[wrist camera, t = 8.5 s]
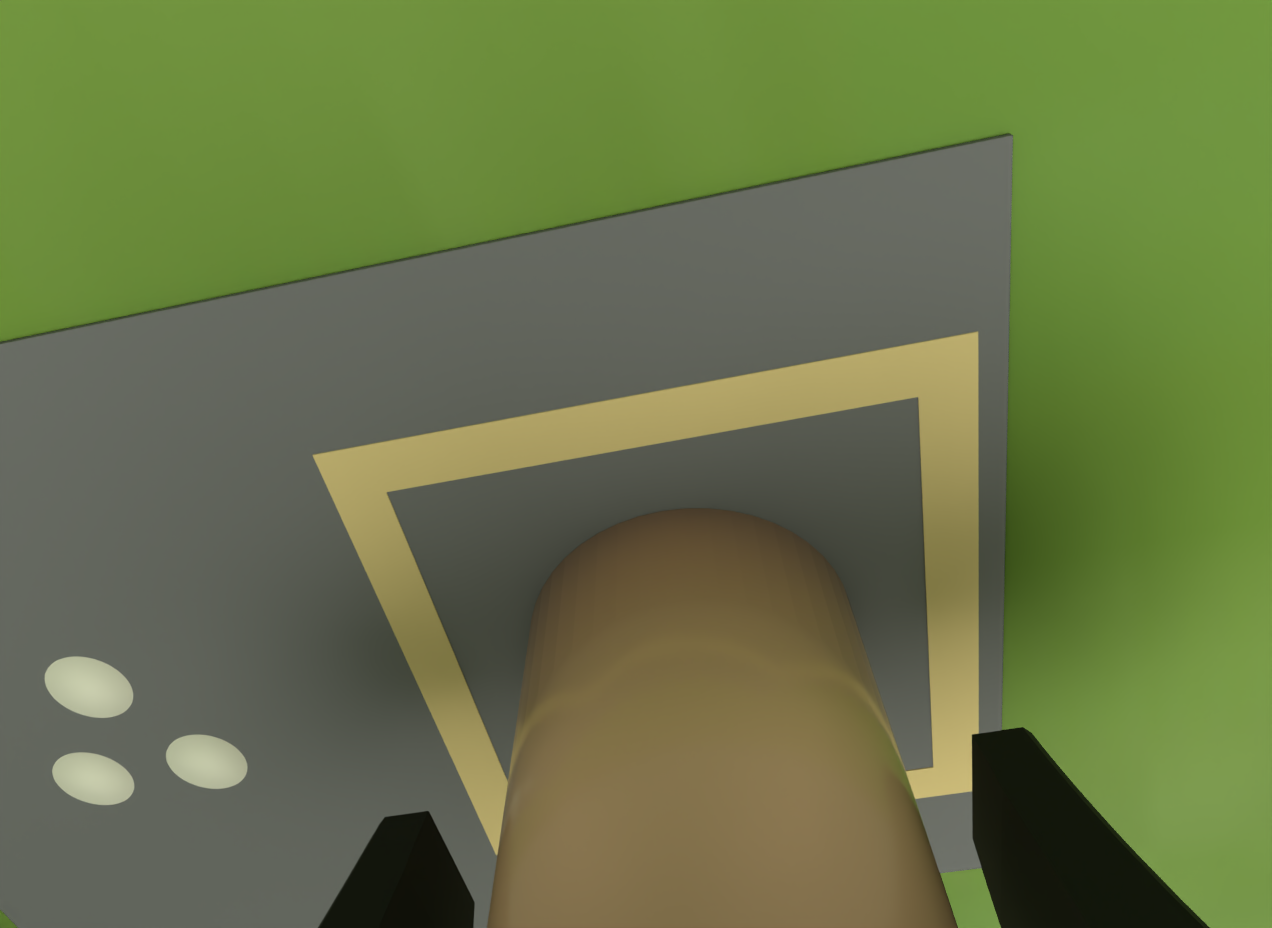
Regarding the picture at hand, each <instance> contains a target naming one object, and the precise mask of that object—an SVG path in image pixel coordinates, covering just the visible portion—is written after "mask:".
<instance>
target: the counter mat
mask: <svg viewBox="0 0 1272 928" xmlns="http://www.w3.org/2000/svg"><path fill="white" fill-rule="evenodd" d="M1012 148H1013V135H1011V134H1005V135H1001V136H996V137H991V138H986V139H981V140H976V141H971V142H967V143H962V144H957V145H952V146H947V147H942V148H938V149H933V150H928V151H923V152H918V153H913V154H909V155H904V156H899V157H894V158H889V159H884V160H880V161H875V162H870V163H865V164H860V165H855V166H850V167H846V168H841V169H836V170H831V171H826V172H821V173H817V174H812V175H807V176H802V177H797V178H792V179H788V180H783V181H778V182H773V183H768V184H763V185H759V186H754V187H749V188H744V189H739V190H734V191H729V192H725V193H720V194H715V195H710V196H705V197H700V198H696V199H691V200H686V201H681V202H676V203H671V204H667V205H662V206H657V207H652V208H647V209H642V210H638V211H633V212H628V213H623V214H618V215H613V216H608V217H604V218H599V219H594V220H589V221H584V222H579V223H575V224H570V225H565V226H560V227H555V228H550V229H546V230H541V231H536V232H531V233H526V234H521V235H517V236H512V237H507V238H502V239H497V240H492V241H488V242H483V243H478V244H473V245H468V246H463V247H458V248H454V249H449V250H444V251H439V252H434V253H429V254H425V255H420V256H415V257H410V258H405V259H400V260H396V261H391V262H386V263H381V264H376V265H371V266H367V267H362V268H357V269H352V270H347V271H342V272H337V273H333V274H328V275H323V276H318V277H313V278H308V279H304V280H299V281H294V282H289V283H284V284H279V285H275V286H270V287H265V288H260V289H255V290H250V291H246V292H241V293H236V294H231V295H226V296H221V297H216V298H212V299H207V300H202V301H197V302H192V303H187V304H183V305H178V306H173V307H168V308H163V309H158V310H154V311H149V312H144V313H139V314H134V315H129V316H125V317H120V318H115V319H110V320H105V321H100V322H95V323H91V324H86V325H81V326H76V327H71V328H66V329H62V330H57V331H52V332H47V333H42V334H37V335H33V336H28V337H23V338H18V339H13V340H8V341H4V342H0V910H1V911H2V912H3V913H4V914H5V915H6V916H7V917H8V918H9V919H10V920H11V921H12V922H13V923H14V924H15V925H16V926H17V927H18V928H318V927H319V925H320V923H321V922H322V920H323V918H324V917H325V915H326V913H327V912H328V910H329V908H330V907H331V905H332V903H333V902H334V900H335V898H336V897H337V895H338V893H339V892H340V890H341V888H342V887H343V885H344V883H345V881H346V880H347V878H348V876H349V875H350V873H351V871H352V870H353V868H354V866H355V864H356V863H357V861H358V859H359V858H360V856H361V854H362V853H363V851H364V849H365V847H366V846H367V844H368V842H369V841H370V839H371V837H372V836H373V834H374V832H375V831H376V829H377V827H378V825H379V824H380V822H381V821H382V820H383V819H384V817H388V816H395V815H402V814H410V813H417V812H424V811H429V812H430V814H431V816H432V818H433V820H434V822H435V824H436V826H437V828H438V830H439V832H440V834H441V836H442V838H443V840H444V842H445V844H446V846H447V848H448V850H449V852H450V854H451V856H452V858H453V860H454V862H455V864H456V866H457V868H458V870H459V872H460V874H461V876H462V878H463V880H464V882H465V884H466V886H467V888H468V890H469V892H470V894H471V896H472V898H473V900H474V902H475V909H474V927H473V928H487V924H488V917H489V910H490V903H491V896H492V889H493V882H494V875H495V868H496V861H497V854H498V847H499V840H500V833H501V827H502V820H503V813H504V806H505V799H506V792H507V785H508V778H509V771H510V764H511V757H512V750H513V743H514V736H515V729H516V722H517V715H518V708H519V701H520V694H521V688H522V681H523V674H524V667H525V660H526V653H527V646H528V639H529V632H530V625H531V618H532V614H533V611H534V607H535V603H536V601H537V598H538V596H539V594H540V592H541V590H542V587H543V586H544V584H545V583H546V581H547V580H548V578H549V576H550V575H551V573H552V572H553V571H554V570H555V569H556V567H557V566H558V565H559V564H560V563H561V562H562V561H563V560H564V558H565V557H567V556H568V555H569V554H570V553H571V552H572V551H574V550H575V549H576V548H577V547H578V546H579V545H581V544H582V543H584V542H585V541H587V540H588V539H590V538H592V537H593V536H595V535H596V534H598V533H600V532H602V531H604V530H606V529H608V528H610V527H612V526H614V525H616V524H618V523H621V522H624V521H627V520H630V519H633V518H635V517H638V516H642V515H647V514H651V513H656V512H660V511H667V510H676V509H685V508H709V509H719V510H729V511H734V512H739V513H743V514H748V515H752V516H755V517H758V518H761V519H764V520H767V521H770V522H773V523H775V524H777V525H779V526H781V527H783V528H785V529H787V530H789V531H791V532H793V533H794V534H796V535H797V536H799V537H800V538H802V539H804V540H805V541H807V542H808V543H809V544H810V545H812V546H813V547H814V548H815V549H816V550H817V551H818V552H819V553H821V554H822V555H823V556H824V558H825V559H826V560H827V561H828V562H829V564H830V565H831V566H832V567H833V568H834V570H835V571H836V573H837V575H838V576H839V578H840V580H841V582H842V583H843V585H844V588H845V591H846V593H847V596H848V598H849V601H850V604H851V607H852V610H853V613H854V616H855V619H856V622H857V625H858V628H859V631H860V634H861V637H862V640H863V643H864V646H865V649H866V652H867V656H868V659H869V662H870V665H871V668H872V671H873V674H874V677H875V680H876V683H877V686H878V689H879V692H880V695H881V698H882V701H883V704H884V707H885V710H886V713H887V716H888V719H889V722H890V725H891V728H892V731H893V734H894V737H895V740H896V743H897V746H898V749H899V752H900V755H901V758H902V761H903V764H904V767H905V770H906V773H907V776H908V779H909V782H910V785H911V788H912V791H913V794H914V797H915V800H916V803H917V806H918V809H919V812H920V815H921V818H922V821H923V824H924V827H925V830H926V833H927V836H928V839H929V842H930V845H931V848H932V851H933V854H934V857H935V860H936V863H937V866H938V869H939V872H940V873H945V872H953V871H961V870H969V869H977V868H982V867H981V864H980V861H979V858H978V854H977V851H976V848H975V845H974V842H973V838H972V734H979V733H986V732H993V731H1000V730H1002V684H1003V630H1004V576H1005V523H1006V469H1007V416H1008V362H1009V309H1010V255H1011V201H1012Z"/></svg>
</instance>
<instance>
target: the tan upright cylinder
mask: <svg viewBox="0 0 1272 928" xmlns="http://www.w3.org/2000/svg"><path fill="white" fill-rule="evenodd" d="M487 928H958V927H957V924H956V921H955V918H954V915H953V911H952V908H951V905H950V902H949V899H948V896H947V893H946V890H945V887H944V884H943V881H942V878H941V875H940V872H939V869H938V866H937V863H936V860H935V857H934V854H933V851H932V848H931V845H930V842H929V839H928V836H927V833H926V830H925V827H924V824H923V821H922V818H921V815H920V812H919V809H918V806H917V803H916V800H915V797H914V794H913V791H912V788H911V785H910V782H909V779H908V776H907V773H906V770H905V767H904V764H903V761H902V758H901V755H900V752H899V749H898V746H897V743H896V740H895V737H894V734H893V731H892V728H891V725H890V722H889V719H888V716H887V713H886V710H885V707H884V704H883V701H882V698H881V695H880V692H879V689H878V686H877V683H876V680H875V677H874V674H873V671H872V668H871V665H870V662H869V659H868V656H867V652H866V649H865V646H864V643H863V640H862V637H861V634H860V631H859V628H858V625H857V622H856V619H855V616H854V613H853V610H852V607H851V604H850V601H849V598H848V596H847V593H846V591H845V588H844V585H843V583H842V582H841V580H840V578H839V576H838V575H837V573H836V571H835V570H834V568H833V567H832V566H831V565H830V564H829V562H828V561H827V560H826V559H825V558H824V556H823V555H822V554H821V553H819V552H818V551H817V550H816V549H815V548H814V547H813V546H812V545H810V544H809V543H808V542H807V541H805V540H804V539H802V538H800V537H799V536H797V535H796V534H794V533H793V532H791V531H789V530H787V529H785V528H783V527H781V526H779V525H777V524H775V523H773V522H770V521H767V520H764V519H761V518H758V517H755V516H752V515H748V514H743V513H739V512H734V511H729V510H719V509H709V508H685V509H676V510H667V511H660V512H656V513H651V514H647V515H642V516H638V517H635V518H633V519H630V520H627V521H624V522H621V523H618V524H616V525H614V526H612V527H610V528H608V529H606V530H604V531H602V532H600V533H598V534H596V535H595V536H593V537H592V538H590V539H588V540H587V541H585V542H584V543H582V544H581V545H579V546H578V547H577V548H576V549H575V550H574V551H572V552H571V553H570V554H569V555H568V556H567V557H565V558H564V560H563V561H562V562H561V563H560V564H559V565H558V566H557V567H556V569H555V570H554V571H553V572H552V573H551V575H550V576H549V578H548V580H547V581H546V583H545V584H544V586H543V587H542V590H541V592H540V594H539V596H538V598H537V601H536V603H535V607H534V611H533V614H532V618H531V625H530V632H529V639H528V646H527V653H526V660H525V667H524V674H523V681H522V688H521V694H520V701H519V708H518V715H517V722H516V729H515V736H514V743H513V750H512V757H511V764H510V771H509V778H508V785H507V792H506V799H505V806H504V813H503V820H502V827H501V833H500V840H499V847H498V854H497V861H496V868H495V875H494V882H493V889H492V896H491V903H490V910H489V917H488V924H487Z"/></svg>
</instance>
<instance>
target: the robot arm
mask: <svg viewBox="0 0 1272 928" xmlns="http://www.w3.org/2000/svg"><path fill="white" fill-rule="evenodd" d="M972 838H973V842H974V845H975V848H976V851H977V854H978V858H979V861H980V864H981V867H982V870H983V873H984V877H985V880H986V883H987V886H988V889H989V892H990V895H991V898H992V901H993V904H994V907H995V911H996V914H997V917H998V920H999V923H1000V925H1001V928H1209V927H1208V926H1207V925H1206V924H1205V923H1204V922H1203V921H1202V920H1201V919H1200V918H1199V917H1198V916H1197V915H1196V914H1195V913H1194V912H1193V911H1192V910H1191V909H1190V908H1189V907H1188V906H1187V905H1186V904H1185V903H1184V902H1183V901H1182V900H1181V899H1180V898H1179V897H1178V896H1177V895H1176V894H1175V893H1174V892H1173V891H1172V890H1171V889H1170V888H1169V887H1168V886H1167V884H1166V883H1165V882H1164V881H1163V880H1162V879H1161V878H1160V877H1159V876H1158V875H1157V874H1156V873H1155V872H1154V871H1153V870H1152V869H1151V868H1150V867H1149V866H1148V865H1147V864H1146V863H1145V862H1144V861H1143V860H1142V859H1141V858H1140V857H1139V856H1138V855H1137V854H1136V853H1135V851H1134V850H1133V849H1132V848H1131V847H1130V846H1129V845H1128V844H1127V843H1126V842H1125V841H1124V840H1123V839H1122V838H1121V836H1120V835H1119V834H1118V833H1117V832H1116V831H1115V830H1114V829H1113V828H1112V827H1111V826H1110V824H1109V823H1108V822H1107V821H1106V820H1105V819H1104V818H1103V817H1102V816H1101V814H1100V813H1099V812H1098V811H1097V810H1096V809H1095V808H1094V807H1093V806H1092V804H1091V803H1090V802H1089V801H1088V800H1087V799H1086V798H1085V797H1084V795H1083V794H1082V793H1081V792H1080V791H1079V790H1078V789H1077V787H1076V786H1075V785H1074V784H1073V783H1072V782H1071V780H1070V779H1069V778H1068V777H1067V776H1066V775H1065V773H1064V772H1063V771H1062V770H1061V769H1060V767H1059V766H1058V765H1057V764H1056V763H1055V761H1054V760H1053V759H1052V758H1051V757H1050V755H1049V754H1048V753H1047V752H1046V751H1045V749H1044V748H1043V747H1042V746H1041V744H1040V743H1039V742H1038V741H1037V739H1036V738H1035V737H1034V735H1033V734H1032V733H1031V732H1029V731H1028V730H1026V729H1024V728H1023V727H1022V728H1015V729H1007V730H1000V731H993V732H986V733H979V734H972ZM474 909H475V902H474V900H473V898H472V896H471V894H470V892H469V890H468V888H467V886H466V884H465V882H464V880H463V878H462V876H461V874H460V872H459V870H458V868H457V866H456V864H455V862H454V860H453V858H452V856H451V854H450V852H449V850H448V848H447V846H446V844H445V842H444V840H443V838H442V836H441V834H440V832H439V830H438V828H437V826H436V824H435V822H434V820H433V818H432V816H431V814H430V812H429V811H424V812H417V813H410V814H402V815H395V816H388V817H384V819H383V820H382V821H381V822H380V824H379V825H378V827H377V829H376V831H375V832H374V834H373V836H372V837H371V839H370V841H369V842H368V844H367V846H366V847H365V849H364V851H363V853H362V854H361V856H360V858H359V859H358V861H357V863H356V864H355V866H354V868H353V870H352V871H351V873H350V875H349V876H348V878H347V880H346V881H345V883H344V885H343V887H342V888H341V890H340V892H339V893H338V895H337V897H336V898H335V900H334V902H333V903H332V905H331V907H330V908H329V910H328V912H327V913H326V915H325V917H324V918H323V920H322V922H321V923H320V925H319V927H318V928H473V927H474Z"/></svg>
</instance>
